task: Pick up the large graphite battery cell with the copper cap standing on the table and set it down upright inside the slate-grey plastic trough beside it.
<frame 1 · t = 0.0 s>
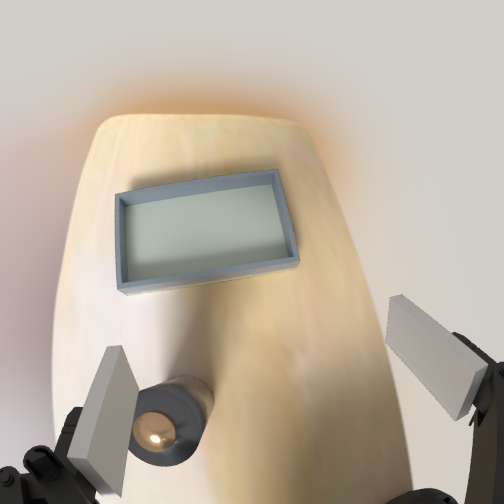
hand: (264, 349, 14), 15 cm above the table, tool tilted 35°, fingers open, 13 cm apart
cell: (187, 400, 27), on the table
trough: (203, 236, 32), on the table
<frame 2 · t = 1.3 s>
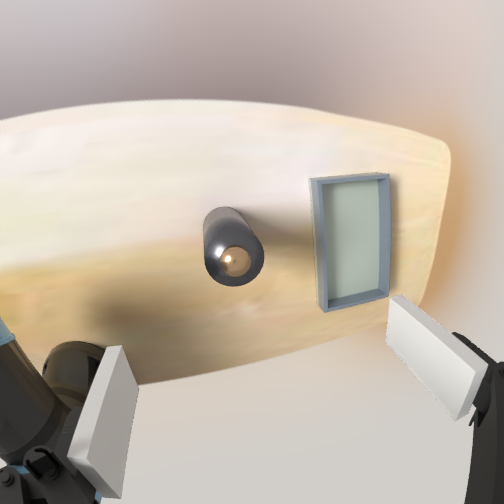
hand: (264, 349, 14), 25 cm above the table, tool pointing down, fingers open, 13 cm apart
cell: (224, 227, 37), on the table
trough: (348, 238, 40), on the table
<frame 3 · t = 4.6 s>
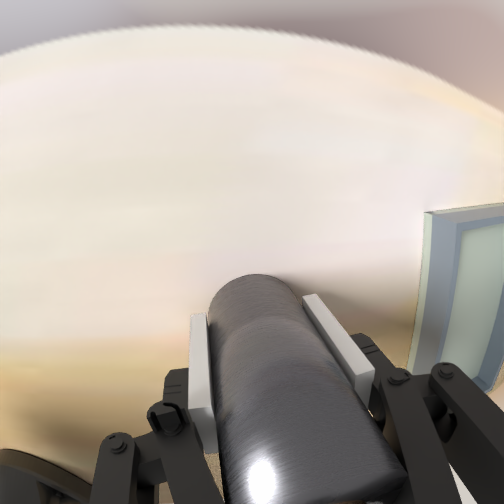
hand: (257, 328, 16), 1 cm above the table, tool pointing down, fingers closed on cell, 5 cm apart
cell: (253, 316, 17), on the table, touching gripper
trough: (460, 314, 20), on the table
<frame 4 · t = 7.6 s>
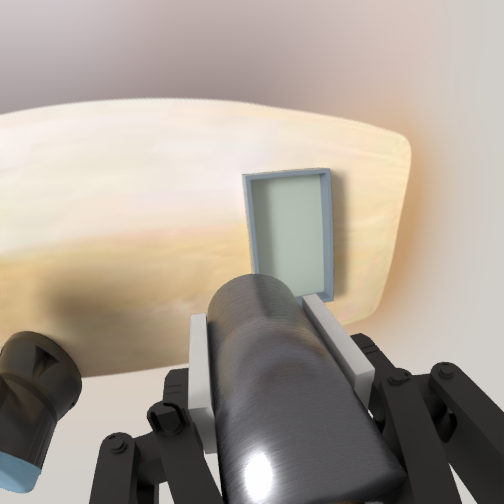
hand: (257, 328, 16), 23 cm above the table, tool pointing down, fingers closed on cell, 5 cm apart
cell: (253, 316, 17), point 22 cm above the table, touching gripper
trough: (287, 237, 40), on the table
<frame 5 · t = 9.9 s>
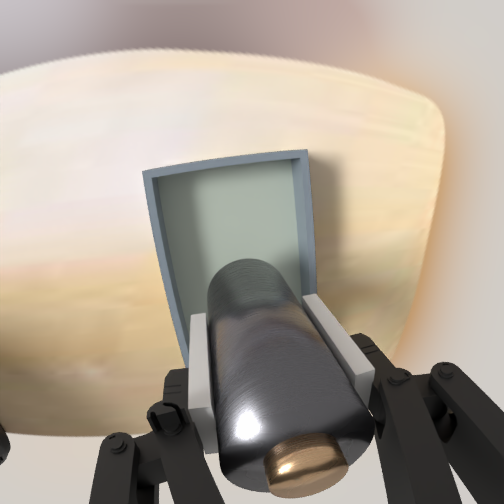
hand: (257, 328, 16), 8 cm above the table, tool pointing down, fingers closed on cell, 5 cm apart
cell: (247, 296, 19), point 4 cm above the table, touching gripper
trough: (238, 274, 23), on the table
when the fingers open (4 cm above the table, at t = 10.9 s): cell stays where it is, resting on trough.
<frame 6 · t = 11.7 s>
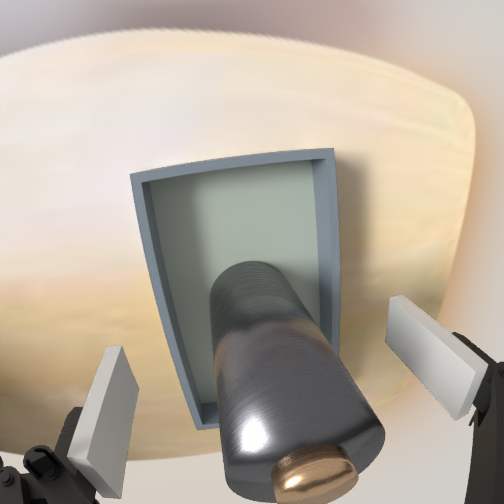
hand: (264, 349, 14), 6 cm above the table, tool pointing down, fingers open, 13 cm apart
cell: (250, 299, 19), point 1 cm above the table, touching trough
trough: (246, 295, 20), on the table
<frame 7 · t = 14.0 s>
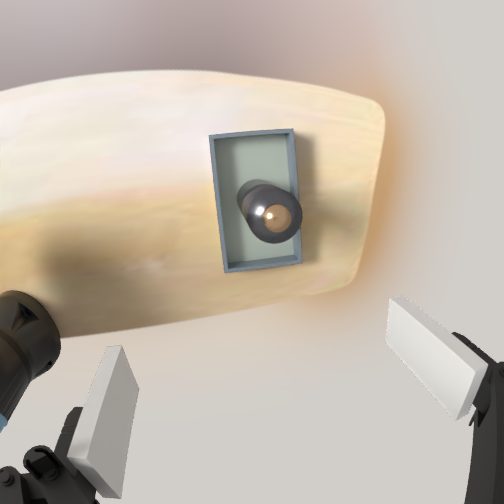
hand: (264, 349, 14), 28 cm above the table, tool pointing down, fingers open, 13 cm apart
cell: (256, 198, 39), point 1 cm above the table, touching trough
trough: (254, 198, 40), on the table
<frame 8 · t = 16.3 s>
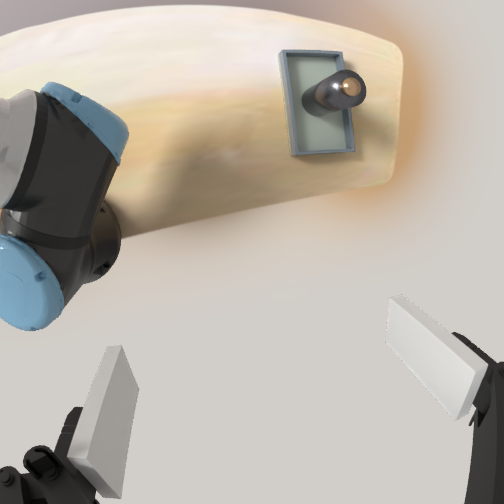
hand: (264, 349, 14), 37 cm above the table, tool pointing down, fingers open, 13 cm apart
cell: (316, 101, 45), point 1 cm above the table, touching trough
trough: (313, 102, 45), on the table
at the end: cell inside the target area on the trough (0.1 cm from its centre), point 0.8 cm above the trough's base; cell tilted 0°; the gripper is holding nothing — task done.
